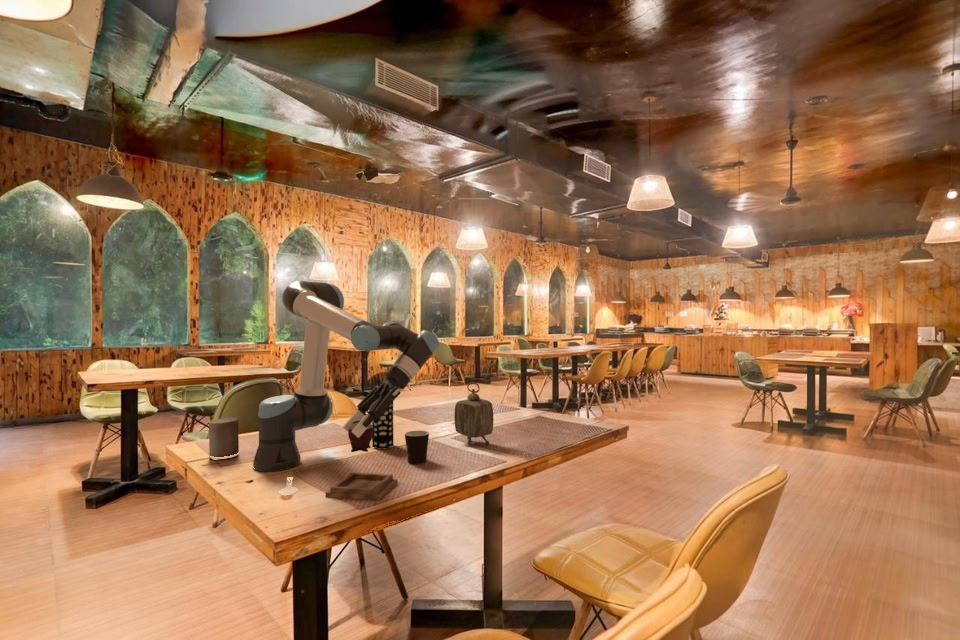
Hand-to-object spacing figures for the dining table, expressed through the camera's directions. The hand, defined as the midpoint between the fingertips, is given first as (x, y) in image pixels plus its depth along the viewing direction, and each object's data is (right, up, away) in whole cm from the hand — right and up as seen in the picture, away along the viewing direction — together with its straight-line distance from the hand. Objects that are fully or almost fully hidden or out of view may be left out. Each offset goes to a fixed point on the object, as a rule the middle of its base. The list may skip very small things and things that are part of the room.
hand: (350, 432), depth 133 cm
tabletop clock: (+35, -18, +53) cm, 66 cm away
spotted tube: (-1, -18, +50) cm, 54 cm away
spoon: (-20, -18, +6) cm, 28 cm away
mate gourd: (+3, -6, +2) cm, 7 cm away
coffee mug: (+15, -18, +31) cm, 39 cm away
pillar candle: (-58, -18, +37) cm, 71 cm away
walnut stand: (+3, -17, +2) cm, 18 cm away
